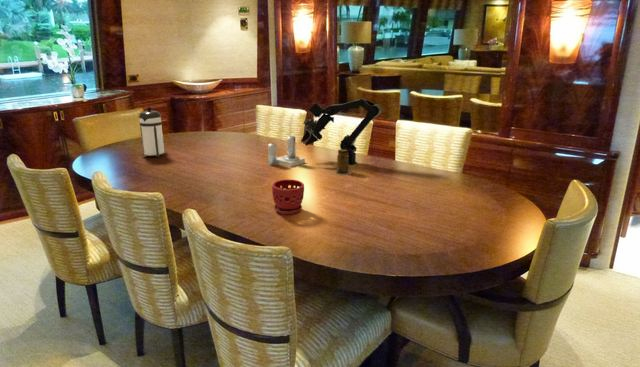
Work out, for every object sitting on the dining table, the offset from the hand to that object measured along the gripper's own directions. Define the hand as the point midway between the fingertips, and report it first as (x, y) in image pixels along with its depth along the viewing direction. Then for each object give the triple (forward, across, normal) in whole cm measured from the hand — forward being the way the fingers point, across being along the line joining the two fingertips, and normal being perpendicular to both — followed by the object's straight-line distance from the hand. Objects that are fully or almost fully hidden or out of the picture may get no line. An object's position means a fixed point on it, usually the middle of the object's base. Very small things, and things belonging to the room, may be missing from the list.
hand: (303, 143), depth 266 cm
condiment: (-2, +25, +19) cm, 32 cm away
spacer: (+21, 0, -5) cm, 21 cm away
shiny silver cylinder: (+11, 0, 0) cm, 11 cm away
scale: (+14, -2, +2) cm, 14 cm away
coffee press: (+67, -43, -52) cm, 94 cm away
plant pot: (+26, +74, -10) cm, 79 cm away
